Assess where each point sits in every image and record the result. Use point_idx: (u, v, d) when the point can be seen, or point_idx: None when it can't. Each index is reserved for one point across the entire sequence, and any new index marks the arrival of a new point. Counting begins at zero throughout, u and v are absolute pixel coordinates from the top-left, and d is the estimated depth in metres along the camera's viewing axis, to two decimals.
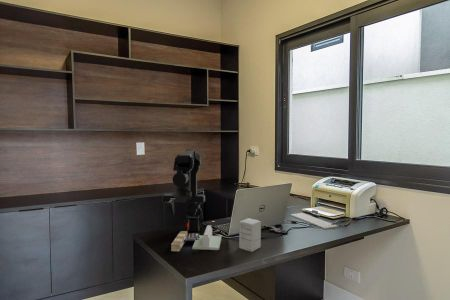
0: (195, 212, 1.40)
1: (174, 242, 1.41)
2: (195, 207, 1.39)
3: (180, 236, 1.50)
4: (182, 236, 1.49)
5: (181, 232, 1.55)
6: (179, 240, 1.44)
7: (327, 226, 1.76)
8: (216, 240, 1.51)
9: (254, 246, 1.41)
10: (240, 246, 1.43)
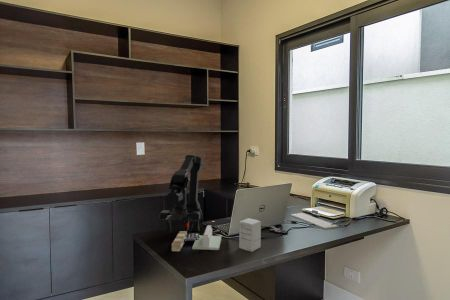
0: (191, 228, 1.47)
1: (175, 242, 1.41)
2: (191, 224, 1.46)
3: (180, 236, 1.50)
4: (182, 236, 1.49)
5: (180, 232, 1.55)
6: (179, 240, 1.44)
7: (327, 226, 1.76)
8: (216, 240, 1.51)
9: (254, 246, 1.41)
10: (240, 246, 1.43)
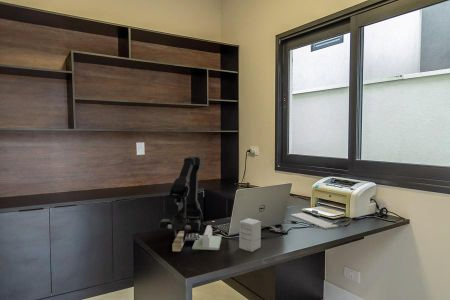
0: (185, 237, 1.47)
1: (175, 242, 1.41)
2: (185, 232, 1.46)
3: (180, 236, 1.50)
4: (182, 236, 1.49)
5: (180, 232, 1.55)
6: (180, 240, 1.44)
7: (327, 226, 1.76)
8: (216, 240, 1.51)
9: (254, 246, 1.41)
10: (240, 246, 1.43)
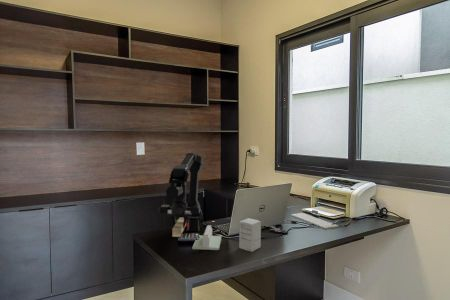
0: (185, 222, 1.46)
1: (175, 227, 1.40)
2: (185, 218, 1.46)
3: (180, 222, 1.49)
4: (182, 222, 1.49)
5: (180, 218, 1.55)
6: (180, 225, 1.43)
7: (327, 226, 1.76)
8: (216, 240, 1.51)
9: (254, 246, 1.41)
10: (240, 246, 1.43)
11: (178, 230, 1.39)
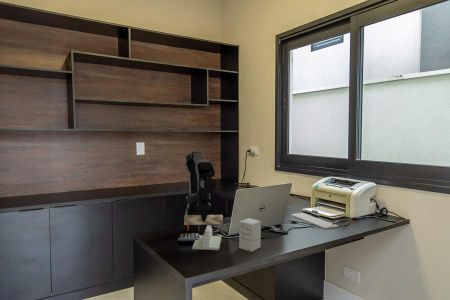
0: None
1: (187, 215, 1.48)
2: (200, 212, 1.45)
3: None
4: None
5: (218, 215, 1.50)
6: (194, 216, 1.47)
7: (327, 226, 1.76)
8: (216, 240, 1.51)
9: (254, 246, 1.41)
10: (240, 246, 1.43)
11: (184, 218, 1.47)
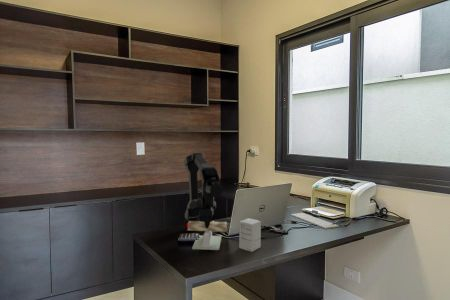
0: None
1: (192, 221, 1.50)
2: None
3: (210, 222, 1.49)
4: (210, 223, 1.48)
5: (222, 222, 1.50)
6: (198, 222, 1.48)
7: (327, 226, 1.77)
8: (216, 240, 1.51)
9: (254, 246, 1.41)
10: (240, 246, 1.43)
11: None
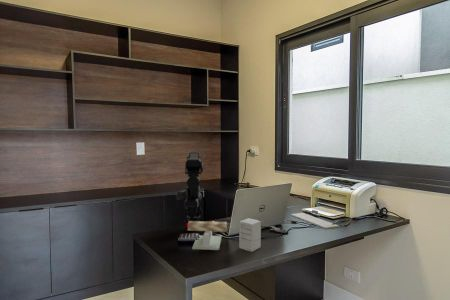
0: (189, 214, 1.47)
1: (192, 221, 1.50)
2: None
3: (210, 222, 1.49)
4: (210, 223, 1.48)
5: (222, 222, 1.50)
6: (198, 222, 1.48)
7: (328, 226, 1.77)
8: (216, 240, 1.51)
9: (254, 246, 1.41)
10: (240, 246, 1.43)
11: None
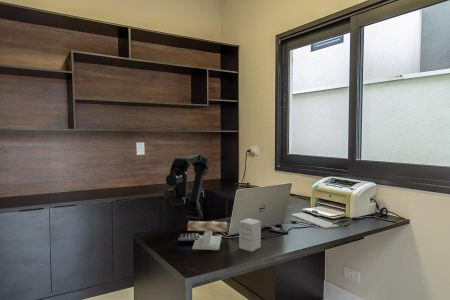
0: None
1: (192, 221, 1.50)
2: None
3: (210, 222, 1.49)
4: (210, 223, 1.48)
5: (222, 222, 1.50)
6: (198, 222, 1.48)
7: (328, 226, 1.77)
8: (216, 240, 1.51)
9: (254, 246, 1.41)
10: (240, 246, 1.43)
11: None
